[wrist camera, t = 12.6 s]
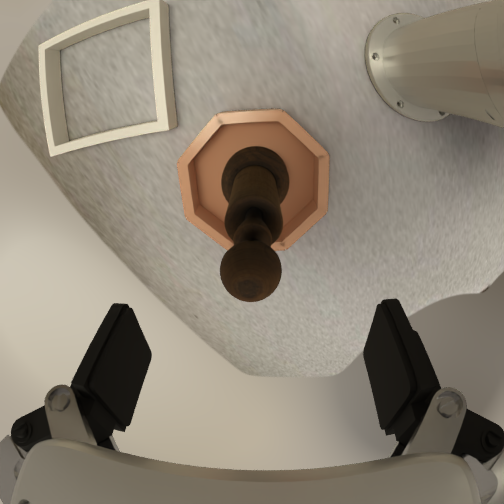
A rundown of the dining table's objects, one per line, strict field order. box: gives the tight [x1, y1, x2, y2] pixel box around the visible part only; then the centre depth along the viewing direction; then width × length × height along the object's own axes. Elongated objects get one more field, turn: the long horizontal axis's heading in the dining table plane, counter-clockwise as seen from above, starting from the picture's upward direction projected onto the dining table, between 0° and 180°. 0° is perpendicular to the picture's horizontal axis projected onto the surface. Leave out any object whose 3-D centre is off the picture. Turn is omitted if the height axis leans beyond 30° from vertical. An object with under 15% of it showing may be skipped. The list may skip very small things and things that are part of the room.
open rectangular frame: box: [39, 0, 178, 157], centre depth 22 cm, size 15×14×3 cm
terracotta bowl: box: [177, 109, 329, 251], centre depth 28 cm, size 14×14×4 cm
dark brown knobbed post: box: [220, 146, 289, 302], centre depth 21 cm, size 7×6×18 cm
